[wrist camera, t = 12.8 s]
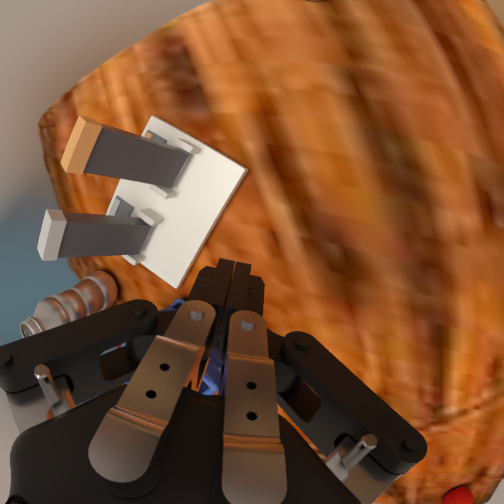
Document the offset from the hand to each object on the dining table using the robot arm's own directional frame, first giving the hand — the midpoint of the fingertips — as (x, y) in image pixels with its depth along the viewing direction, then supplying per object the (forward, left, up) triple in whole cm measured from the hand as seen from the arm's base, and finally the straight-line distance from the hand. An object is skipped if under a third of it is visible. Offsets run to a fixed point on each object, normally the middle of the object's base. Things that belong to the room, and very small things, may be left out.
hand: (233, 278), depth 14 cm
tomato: (+93, +23, -27) cm, 100 cm away
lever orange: (-11, -11, -23) cm, 28 cm away
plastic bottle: (0, -33, -27) cm, 43 cm away
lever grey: (-5, -20, -23) cm, 31 cm away
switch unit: (-8, -15, -27) cm, 32 cm away
